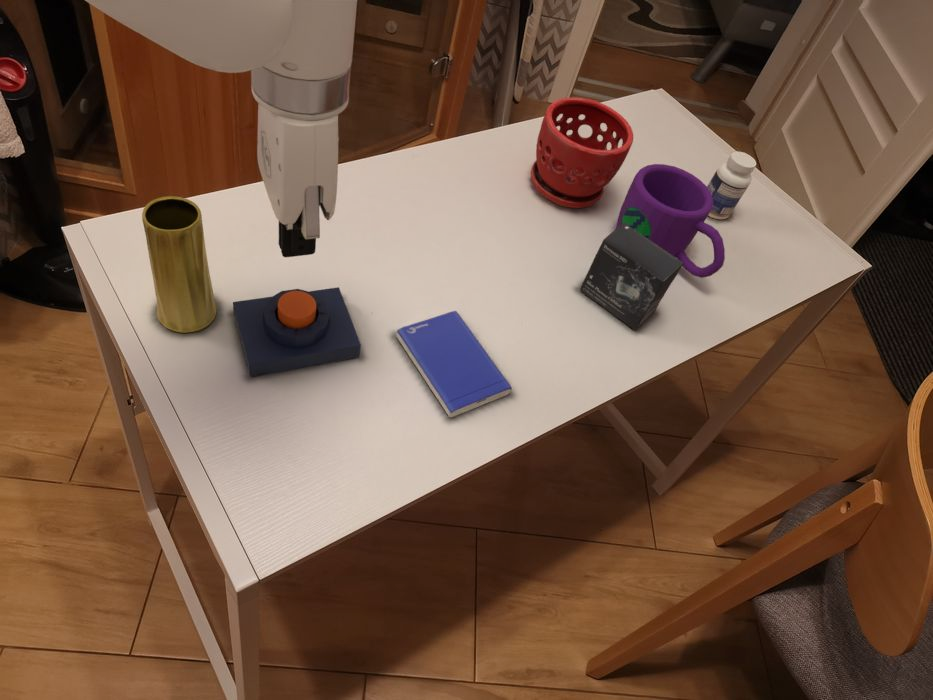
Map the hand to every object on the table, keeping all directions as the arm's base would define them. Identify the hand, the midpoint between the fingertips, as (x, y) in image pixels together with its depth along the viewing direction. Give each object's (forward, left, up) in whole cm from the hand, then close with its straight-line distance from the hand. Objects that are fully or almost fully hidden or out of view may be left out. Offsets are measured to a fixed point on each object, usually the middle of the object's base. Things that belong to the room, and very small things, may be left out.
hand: (297, 250), depth 67 cm
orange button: (0, 0, -10) cm, 10 cm away
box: (+42, -3, -13) cm, 44 cm away
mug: (+54, +4, -13) cm, 56 cm away
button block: (0, 0, -13) cm, 13 cm away
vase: (-11, +6, -13) cm, 18 cm away
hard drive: (+16, -8, -13) cm, 22 cm away
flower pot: (+46, +20, -13) cm, 52 cm away
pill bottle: (+70, +12, -13) cm, 72 cm away
